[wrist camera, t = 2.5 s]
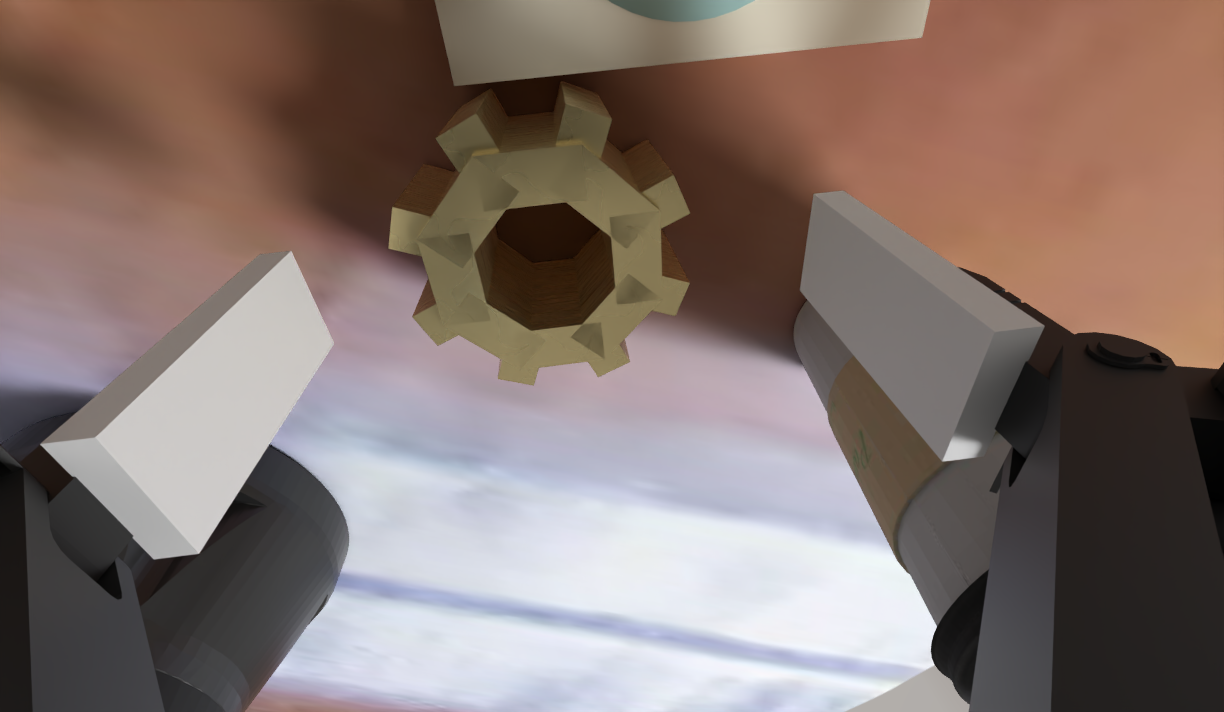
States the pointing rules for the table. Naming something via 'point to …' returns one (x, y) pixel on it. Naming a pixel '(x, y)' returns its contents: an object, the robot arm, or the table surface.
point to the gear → (552, 290)
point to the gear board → (652, 32)
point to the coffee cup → (913, 494)
